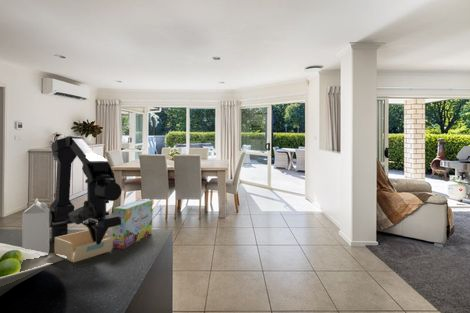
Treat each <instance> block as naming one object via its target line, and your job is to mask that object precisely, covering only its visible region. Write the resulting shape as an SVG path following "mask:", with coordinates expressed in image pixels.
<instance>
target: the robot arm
mask: <svg viewBox="0 0 470 313" xmlns="http://www.w3.org/2000/svg"><path fill="white" fill-rule="evenodd" d="M50 148H51V149H50V150H51V152H52V156H53V158H54V160H55V161H56V176H55V178H56V180H55V196H54V197H55V199H54V200H53V202H51V205H50V206H49V228H50V237H49V243H50V242H51V243H53V244H55V237H59V236H63V235H68V234H69V230H68V228H69V226H68V225H71V224H76V225H83V226H84V227H86V228H87V230H89V232H90V234H91V237H92V240H93V242H95V241H96V244H97V245H98V244H100V243H101V241H102V239H103V237H104V235H105V234H107V231H108V230H109V228H113V227H114V226H118V225H121V218H120V217H119V216H115V215H113V214H110V213H109V211H107V204H109V203H110V202H114V201H116V200H119V198H120V197H121V194H122V188H121V186H120V184H118V183H117V182H116V177H115V173H114V171H113V169H112V167H111V164H110V162H109V161H108V160H107V159H106V158H104V157H103V156H101V155H97V154H96V153H95V152H94V150H92V148H91V147H90V146H89V145H88V144H87V143H86V141H85V140H84V137H83V136H81V135H67V136H65V137H63V138H58V139H56V140H54V141H52V143H51V147H50ZM76 158H78V159H79V160H80V162H81V163H82V168H81V170H82V171H83V174H84V176H85V177H86V179H85V181H84V183H85V184H87V185H86V186H87V188H86V189H87V190H86V191H87V192H86V194H87V198H86V200H84V202H83V206H80V207H77V208H75V205H74V204H73V203H72V202H71V200H70V196H71V195H70V193H71V177H72V164H73V162H74V161H75V159H76Z"/></svg>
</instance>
